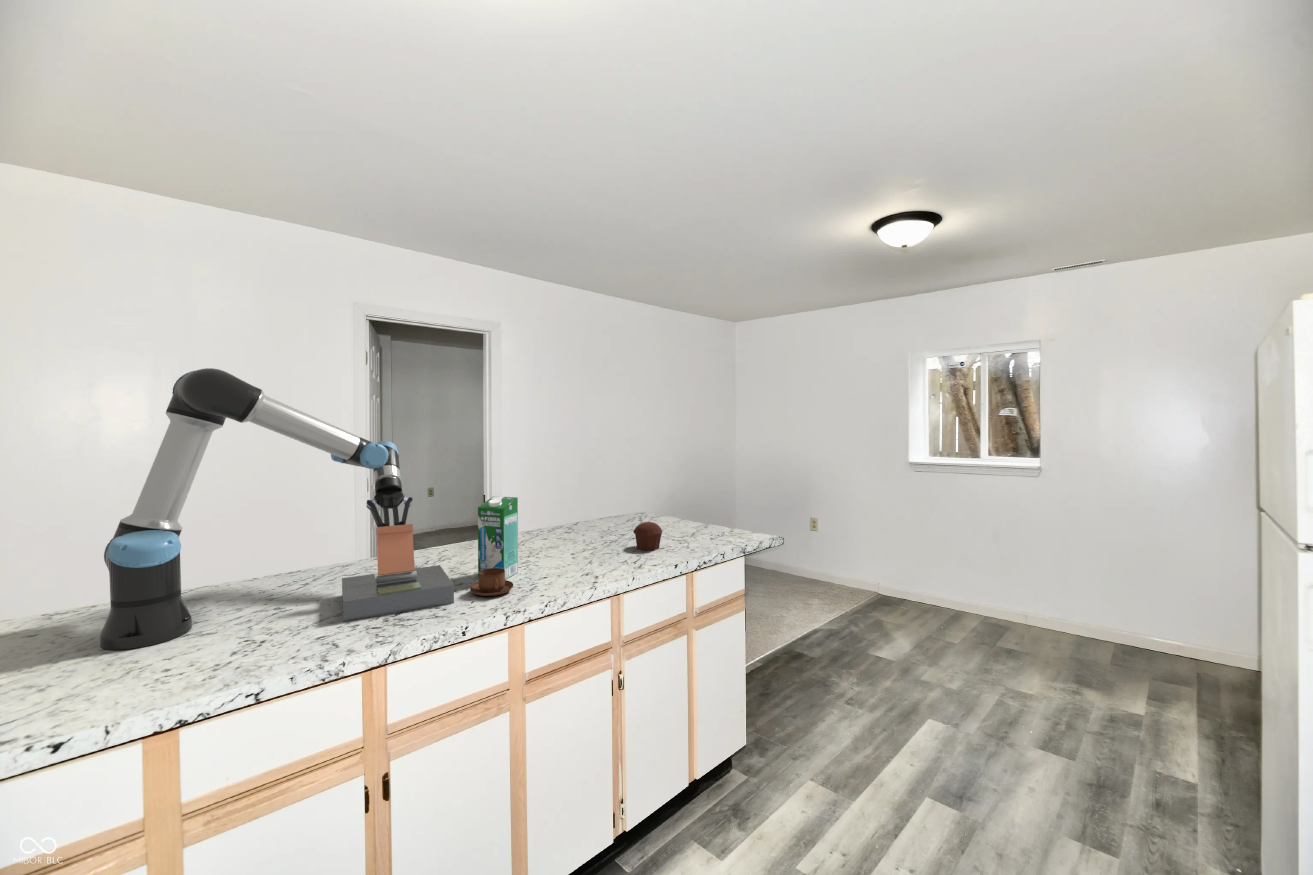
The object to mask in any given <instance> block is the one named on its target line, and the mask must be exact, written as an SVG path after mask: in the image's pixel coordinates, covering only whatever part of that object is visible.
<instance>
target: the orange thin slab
mask: <svg viewBox="0 0 1313 875" xmlns="http://www.w3.org/2000/svg"><path fill="white" fill-rule="evenodd" d="M413 525H414V524H413V523H409V524H407V523H406V524H405V525H396V526H394V525H390V526H385V527H377V526H376V529H375V530H376V550H377V551H376V554H377V573H378V576H376V583H377V584H378V583H386V582H393V581H400V580H407V579H414V578H417V571H414V570H415V568H416V567H415V553H414V552H415V551H414V528H413ZM409 571H412V572H409ZM402 572H404V573H402ZM394 573H397V574H394ZM387 574H390V575H387ZM379 575H382V576H379Z"/></svg>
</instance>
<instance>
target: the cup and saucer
mask: <svg viewBox="0 0 1313 875" xmlns="http://www.w3.org/2000/svg"><path fill="white" fill-rule="evenodd" d="M513 587H514V583H513V582H512V581H510V580H508V579H506V580H505V570H504V569H501V568H489V569H484V570H481V571H480V572H479V578H478V582H476V583H473V584H471V586H470V588H469V589H470V592H471V593H473V594H474V595H477V596H481V597H495V596H501V595H504V594H506V593H508V592H509V591H511V590H512V589H513Z"/></svg>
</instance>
